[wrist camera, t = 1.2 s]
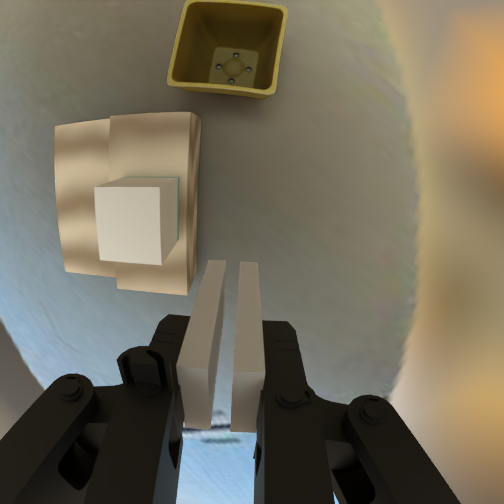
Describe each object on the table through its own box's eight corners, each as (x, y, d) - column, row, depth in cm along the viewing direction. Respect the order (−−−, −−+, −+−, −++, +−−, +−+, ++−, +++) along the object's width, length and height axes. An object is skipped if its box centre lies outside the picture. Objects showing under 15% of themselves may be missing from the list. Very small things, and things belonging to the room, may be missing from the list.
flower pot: (201, 31, 25) (185, -3, 16) (279, 39, 25) (289, 5, 17) (187, 100, 28) (164, 86, 19) (267, 109, 28) (275, 96, 20)
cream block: (124, 176, 25) (94, 187, 19) (179, 177, 25) (159, 187, 19) (126, 236, 27) (100, 260, 21) (178, 239, 27) (161, 265, 22)
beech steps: (70, 126, 28) (42, 126, 22) (201, 117, 28) (190, 111, 23) (78, 260, 34) (55, 280, 29) (196, 271, 35) (187, 295, 29)
